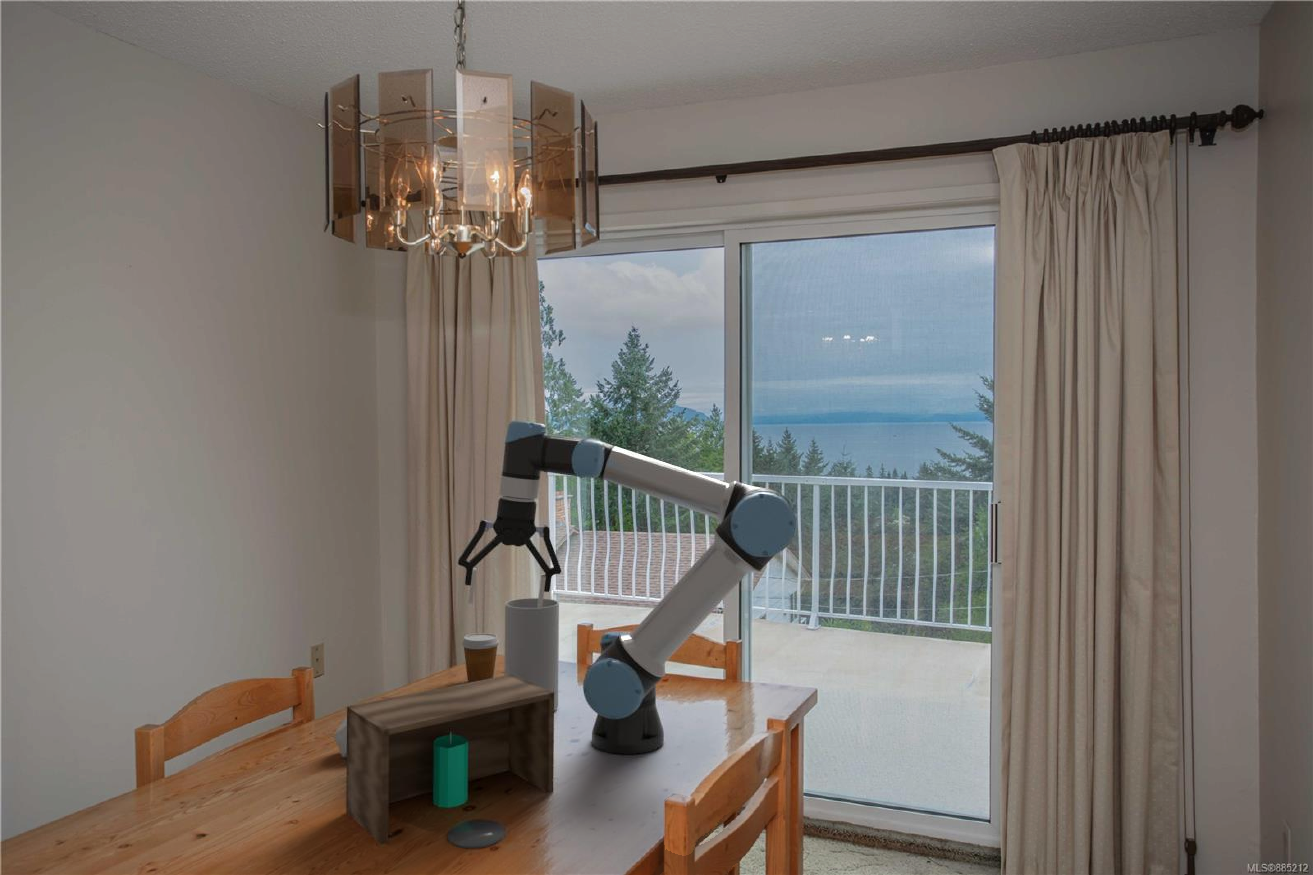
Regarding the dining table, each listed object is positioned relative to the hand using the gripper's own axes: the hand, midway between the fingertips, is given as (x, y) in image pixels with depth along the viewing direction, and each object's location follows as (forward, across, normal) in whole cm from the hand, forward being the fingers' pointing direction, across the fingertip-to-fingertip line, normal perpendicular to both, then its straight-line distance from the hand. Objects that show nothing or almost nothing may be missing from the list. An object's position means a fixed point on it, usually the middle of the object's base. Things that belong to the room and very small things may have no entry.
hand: (505, 605), depth 173 cm
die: (+34, +25, -6) cm, 43 cm away
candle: (+31, +6, +19) cm, 37 cm away
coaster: (+30, +2, +34) cm, 45 cm away
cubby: (+31, +6, +20) cm, 37 cm away
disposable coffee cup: (+33, +2, -54) cm, 63 cm away
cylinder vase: (+31, -10, -30) cm, 44 cm away
